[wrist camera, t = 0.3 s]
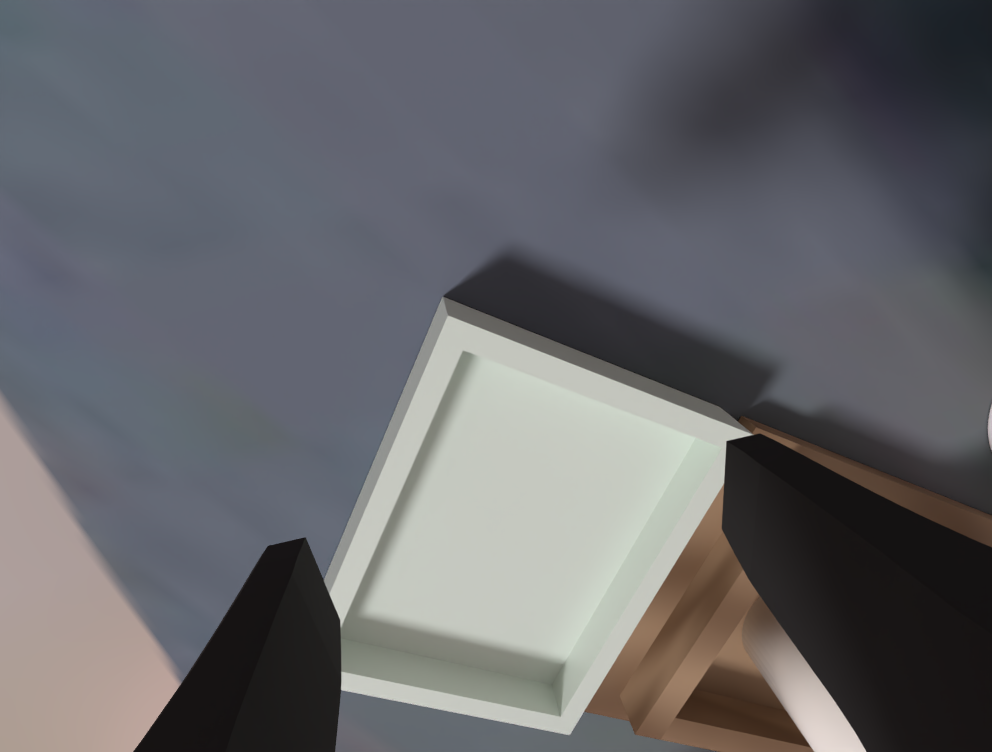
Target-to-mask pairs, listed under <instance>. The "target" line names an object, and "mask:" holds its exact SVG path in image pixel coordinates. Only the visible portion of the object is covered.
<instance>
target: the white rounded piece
mask: <svg viewBox="0 0 992 752" xmlns="http://www.w3.org/2000/svg"><path fill="white" fill-rule="evenodd" d="M742 642H743V646H744V648H745V651H746V652H747V654H748V655H749V657H750V658H751V660H752V661H753V663H754V664H755V666H756V667H757V669H758V670H759V672H760V673H761V674H762V676H763V677H764V679H765V680H766V682H767V683H768V685H769V686H770V688H771V689H772V691H773V692H774V694H775V695H776V696H777V698H778V699H779V701H780V702H781V704H782V705H783V707H784V708H785V710H786V711H787V713H788V714H789V716H790V717H791V718H792V720H793V721H794V723H795V724H796V726H797V727H798V729H799V730H800V732H801V733H802V735H803V736H804V738H805V739H806V740H807V742H808V743H809V745H810V746H811V748H812V749H813V751H814V752H866V750H865V748H864V747H863V745H862V743H861V742H860V740H859V738H858V737H857V735H856V733H855V731H854V730H853V728H852V727H851V725H850V724H849V722H848V721H847V719H846V718H845V716H844V715H843V713H842V712H841V710H840V709H839V707H838V706H837V704H836V703H835V701H834V700H833V698H832V697H831V695H830V694H829V693H828V691H827V690H826V688H825V687H824V686H823V684H822V683H821V681H820V680H819V679H818V677H817V676H816V674H815V673H814V672H813V670H812V669H811V667H810V666H809V665H808V663H807V662H806V660H805V659H804V658H803V656H802V655H801V653H800V652H799V651H798V649H797V648H796V646H795V645H794V644H793V642H792V641H791V639H790V638H789V637H788V635H787V634H786V632H785V631H784V630H783V628H782V627H781V625H780V624H779V623H778V621H777V620H776V618H775V617H774V615H773V614H772V613H771V611H770V610H769V608H768V607H767V605H766V604H765V603H764V601H763V600H762V598H761V597H759V598H758V599H757V600H756V601H755V603H754V604H753V605H752V607H751V608H750V610H749V612H748V613H747V616H746V618H745V620H744V624H743V628H742Z"/></svg>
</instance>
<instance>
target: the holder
mask: <svg viewBox="0 0 992 752" xmlns="http://www.w3.org/2000/svg"><path fill="white" fill-rule="evenodd" d="M738 422H739V423H740V424H741V425H742V426H744V427H745V428H746V429H747V430H748V431H750V432H751V433H752V434H753V435H755V434H759V433H761V434H763V435H765V436H767V437H769V438H771V439H773V440H775V441H777V442H779V443H781V444H783V445H785V446H787V447H789V448H791V449H793V450H794V451H796V452H798V453H800V454H802V455H804V456H806V457H808V458H810V459H811V460H813V461H815V462H817V463H819V464H821V465H823V466H825V467H827V468H828V469H830V470H832V471H834V472H836V473H838V474H840V475H842V476H844V477H845V478H847V479H849V480H851V481H853V482H855V483H857V484H859V485H861V486H863V487H865V488H867V489H869V490H871V491H873V492H874V493H876V494H878V495H880V496H882V497H884V498H886V499H888V500H890V501H892V502H894V503H896V504H898V505H900V506H902V507H905V508H907V509H909V510H911V511H913V512H915V513H917V514H919V515H921V516H923V517H925V518H927V519H930V520H932V521H934V522H936V523H938V524H941V525H943V526H945V527H947V528H949V529H952V530H954V531H956V532H958V533H960V534H963V535H965V536H967V537H969V538H971V539H974V540H976V541H978V542H980V543H983V544H985V545H988V546H990V547H992V515H989V514H987V513H984V512H982V511H979V510H977V509H974V508H972V507H969V506H967V505H964V504H962V503H959V502H957V501H954V500H952V499H949V498H947V497H944V496H942V495H939V494H937V493H934V492H932V491H929V490H927V489H924V488H922V487H919V486H917V485H914V484H912V483H909V482H907V481H904V480H902V479H899V478H897V477H894V476H892V475H889V474H887V473H884V472H882V471H879V470H877V469H874V468H872V467H869V466H867V465H864V464H861V463H859V462H856V461H854V460H851V459H849V458H846V457H844V456H841V455H839V454H836V453H834V452H831V451H829V450H826V449H824V448H821V447H819V446H816V445H814V444H811V443H809V442H806V441H804V440H801V439H799V438H796V437H794V436H791V435H789V434H786V433H784V432H781V431H779V430H776V429H774V428H771V427H769V426H766V425H764V424H761V423H759V422H756V421H754V420H751V419H749V418H746V417H744V416H741V417H740V419H739V421H738ZM723 494H724V484H723V486H722V488H721V489H720V491H719V493H718V494H717V496H716V497H715V499H714V501H713V502H712V504H711V506H710V507H709V509H708V510H707V512H706V514H705V515H704V517H703V519H702V520H701V522H700V523H699V525H698V527H697V528H696V530H695V532H694V533H693V535H692V537H691V538H690V540H689V541H688V543H687V545H686V546H685V548H684V550H683V551H682V553H681V554H680V556H679V558H678V559H677V561H676V563H675V564H674V566H673V567H672V569H671V571H670V572H669V574H668V576H667V577H666V579H665V580H664V582H663V584H662V585H661V587H660V589H659V590H658V592H657V594H656V595H655V597H654V598H653V600H652V602H651V603H650V605H649V607H648V608H647V610H646V611H645V613H644V615H643V616H642V618H641V620H640V621H639V623H638V624H637V626H636V628H635V629H634V631H633V633H632V634H631V636H630V637H629V639H628V641H627V642H626V644H625V646H624V647H623V649H622V651H621V652H620V654H619V655H618V657H617V659H616V660H615V662H614V664H613V665H612V667H611V668H610V670H609V672H608V673H607V675H606V677H605V678H604V680H603V681H602V683H601V685H600V686H599V688H598V690H597V691H596V693H595V694H594V696H593V698H592V699H591V701H590V703H589V704H588V706H587V708H586V709H585V711H584V712H589V713H593V714H598V715H603V716H608V717H612V718H617V719H622V720H627V721H630V723H631V725H632V728H633V730H634V733H635V734H636V735H640V736H645V737H650V738H655V739H660V740H665V741H670V742H675V743H680V744H684V745H689V746H694V747H699V748H704V749H709V750H714V751H719V752H814V751H813V749H812V748H811V746H810V745H809V743H808V742H807V740H806V739H805V738H804V736H803V735H802V733H801V732H800V730H799V729H798V727H797V726H796V724H795V723H794V721H793V720H792V718H791V717H790V716H789V714H788V713H787V711H786V710H785V708H784V707H783V705H782V704H781V702H780V701H779V699H778V698H777V696H776V695H775V694H774V692H773V691H772V689H771V688H770V686H769V685H768V683H767V682H766V680H765V679H764V677H763V676H762V674H761V673H760V672H759V670H758V669H757V667H756V666H755V664H754V663H753V661H752V660H751V658H750V657H749V655H748V654H747V652H746V651H745V648H744V646H743V642H742V628H743V624H744V620H745V618H746V616H747V613H748V612H749V610H750V608H751V607H752V605H753V604H754V603H755V601H756V600H757V599H758V598H759V597H760V595H759V594H758V593H757V591H756V590H755V588H754V587H753V585H752V584H751V582H750V581H749V579H748V577H747V575H746V574H745V572H744V570H743V568H742V566H741V565H740V563H739V561H738V559H737V558H736V556H735V554H734V552H733V550H732V548H731V546H730V544H729V542H728V540H727V538H726V536H725V534H724V533H723V531H722V511H723Z"/></svg>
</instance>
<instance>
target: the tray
mask: <svg viewBox="0 0 992 752" xmlns="http://www.w3.org/2000/svg"><path fill="white" fill-rule="evenodd" d="M750 435H753V434H752V433H751V432H750V431H748V430H747V429H746V428H745V427H744V426H742V425H741V424H740V423H739V422H738V421H736V420H735V419H734V418H733V417H731V416H730V415H729V414H728V413H727V412H725V411H724V410H723V409H722V408H720V407H718V406H716V405H713V404H711V403H708V402H706V401H703V400H701V399H698V398H696V397H693V396H691V395H688V394H686V393H683V392H681V391H678V390H676V389H673V388H671V387H668V386H666V385H663V384H661V383H658V382H656V381H653V380H651V379H648V378H646V377H643V376H641V375H638V374H636V373H633V372H631V371H628V370H626V369H623V368H621V367H618V366H616V365H613V364H611V363H608V362H606V361H603V360H601V359H598V358H596V357H593V356H591V355H588V354H586V353H583V352H580V351H578V350H575V349H573V348H570V347H568V346H565V345H563V344H560V343H558V342H555V341H553V340H550V339H548V338H545V337H543V336H540V335H538V334H535V333H533V332H530V331H528V330H525V329H523V328H520V327H518V326H515V325H513V324H510V323H508V322H505V321H503V320H500V319H498V318H495V317H493V316H490V315H488V314H485V313H483V312H480V311H478V310H475V309H473V308H470V307H468V306H465V305H463V304H460V303H458V302H455V301H453V300H450V299H448V298H445V297H442V299H441V302H440V304H439V306H438V309H437V311H436V314H435V316H434V318H433V321H432V323H431V326H430V328H429V330H428V333H427V335H426V337H425V340H424V342H423V345H422V347H421V349H420V352H419V354H418V357H417V359H416V361H415V364H414V366H413V369H412V371H411V373H410V376H409V378H408V380H407V383H406V385H405V388H404V390H403V392H402V395H401V397H400V400H399V402H398V404H397V407H396V409H395V412H394V414H393V416H392V419H391V421H390V423H389V426H388V428H387V431H386V433H385V435H384V438H383V440H382V443H381V445H380V447H379V450H378V452H377V455H376V457H375V459H374V462H373V464H372V466H371V469H370V471H369V474H368V476H367V478H366V481H365V483H364V486H363V488H362V490H361V493H360V495H359V498H358V500H357V502H356V505H355V507H354V509H353V512H352V514H351V517H350V519H349V521H348V524H347V526H346V529H345V531H344V533H343V536H342V538H341V541H340V543H339V545H338V548H337V550H336V552H335V555H334V557H333V560H332V562H331V564H330V567H329V569H328V572H327V574H326V576H325V579H324V583H325V585H326V587H327V590H328V592H329V594H330V597H331V599H332V602H333V604H334V606H335V609H336V611H337V613H338V616H339V618H340V626H341V690H344V691H349V692H354V693H359V694H364V695H369V696H374V697H379V698H384V699H390V700H395V701H400V702H405V703H410V704H415V705H420V706H425V707H430V708H435V709H440V710H445V711H450V712H455V713H460V714H466V715H471V716H476V717H481V718H486V719H491V720H496V721H501V722H506V723H511V724H516V725H521V726H526V727H531V728H536V729H542V730H547V731H552V732H557V733H562V734H567V735H570V734H571V732H572V730H573V729H574V727H575V725H576V724H577V722H578V721H579V719H580V717H581V716H582V714H583V712H584V711H585V709H586V708H587V706H588V704H589V703H590V701H591V699H592V698H593V696H594V694H595V693H596V691H597V690H598V688H599V686H600V685H601V683H602V681H603V680H604V678H605V677H606V675H607V673H608V672H609V670H610V668H611V667H612V665H613V664H614V662H615V660H616V659H617V657H618V655H619V654H620V652H621V651H622V649H623V647H624V646H625V644H626V642H627V641H628V639H629V637H630V636H631V634H632V633H633V631H634V629H635V628H636V626H637V624H638V623H639V621H640V620H641V618H642V616H643V615H644V613H645V611H646V610H647V608H648V607H649V605H650V603H651V602H652V600H653V598H654V597H655V595H656V594H657V592H658V590H659V589H660V587H661V585H662V584H663V582H664V580H665V579H666V577H667V576H668V574H669V572H670V571H671V569H672V567H673V566H674V564H675V563H676V561H677V559H678V558H679V556H680V554H681V553H682V551H683V550H684V548H685V546H686V545H687V543H688V541H689V540H690V538H691V537H692V535H693V533H694V532H695V530H696V528H697V527H698V525H699V523H700V522H701V520H702V519H703V517H704V515H705V514H706V512H707V510H708V509H709V507H710V506H711V504H712V502H713V501H714V499H715V497H716V496H717V494H718V493H719V491H720V489H721V488H722V486H723V484H724V476H725V458H726V441H729V440H733V439H737V438H742V437H746V436H750Z"/></svg>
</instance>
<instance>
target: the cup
mask: <svg viewBox="0 0 992 752" xmlns="http://www.w3.org/2000/svg"><path fill="white" fill-rule="evenodd" d="M988 439H989V444H990V448H991V451H992V404H991V408H990V413H989V419H988Z"/></svg>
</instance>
